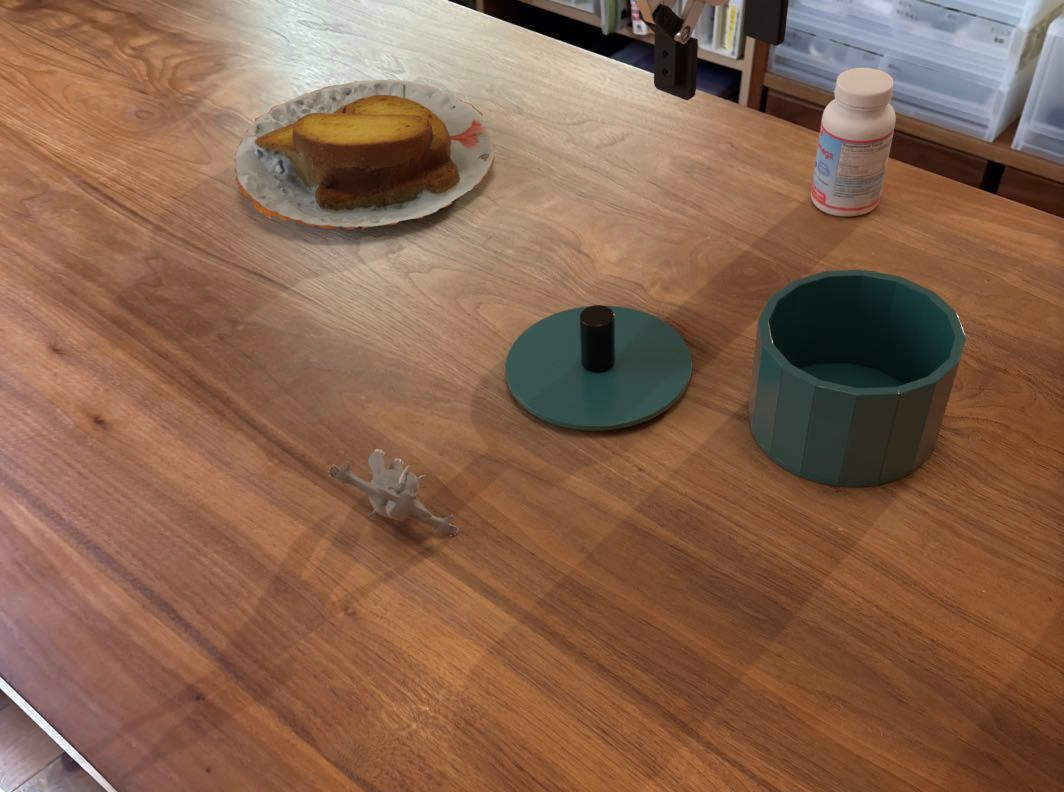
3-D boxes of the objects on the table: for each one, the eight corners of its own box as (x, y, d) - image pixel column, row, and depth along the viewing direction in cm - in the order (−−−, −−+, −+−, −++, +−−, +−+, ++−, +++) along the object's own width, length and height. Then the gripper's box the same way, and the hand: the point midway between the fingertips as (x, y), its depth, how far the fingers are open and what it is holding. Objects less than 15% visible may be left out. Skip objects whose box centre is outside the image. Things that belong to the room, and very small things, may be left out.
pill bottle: (809, 182, 102) (825, 62, 94) (877, 183, 102) (900, 62, 93) (810, 219, 99) (828, 97, 90) (881, 220, 98) (906, 98, 89)
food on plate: (448, 85, 119) (441, 24, 114) (535, 199, 104) (532, 134, 99) (216, 143, 114) (198, 82, 109) (271, 272, 99) (253, 207, 94)
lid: (595, 294, 93) (594, 236, 89) (729, 368, 86) (735, 309, 82) (468, 377, 87) (461, 320, 83) (601, 465, 80) (600, 407, 76)
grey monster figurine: (465, 461, 81) (486, 513, 73) (422, 526, 83) (438, 584, 75) (345, 397, 77) (353, 444, 69) (303, 467, 79) (306, 521, 71)
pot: (821, 339, 88) (837, 247, 81) (974, 417, 81) (1004, 323, 74) (711, 425, 82) (718, 333, 76) (864, 516, 75) (887, 424, 69)
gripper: (691, -170, 59) (681, 133, 71) (878, -254, 66) (839, 34, 79) (587, -193, 62) (595, 98, 75) (775, -270, 70) (753, 7, 83)
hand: (720, 65), depth 77 cm, fingers open, 9 cm apart
